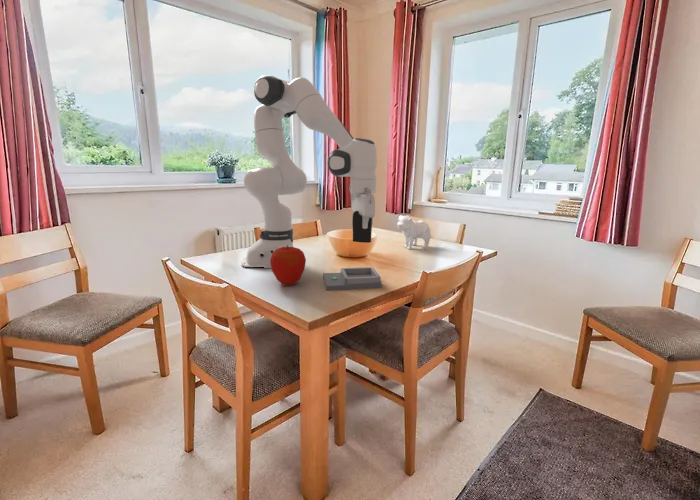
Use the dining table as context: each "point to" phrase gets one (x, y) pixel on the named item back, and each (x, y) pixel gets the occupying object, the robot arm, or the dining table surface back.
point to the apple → (288, 264)
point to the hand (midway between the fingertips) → (362, 226)
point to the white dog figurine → (414, 231)
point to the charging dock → (353, 279)
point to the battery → (361, 229)
